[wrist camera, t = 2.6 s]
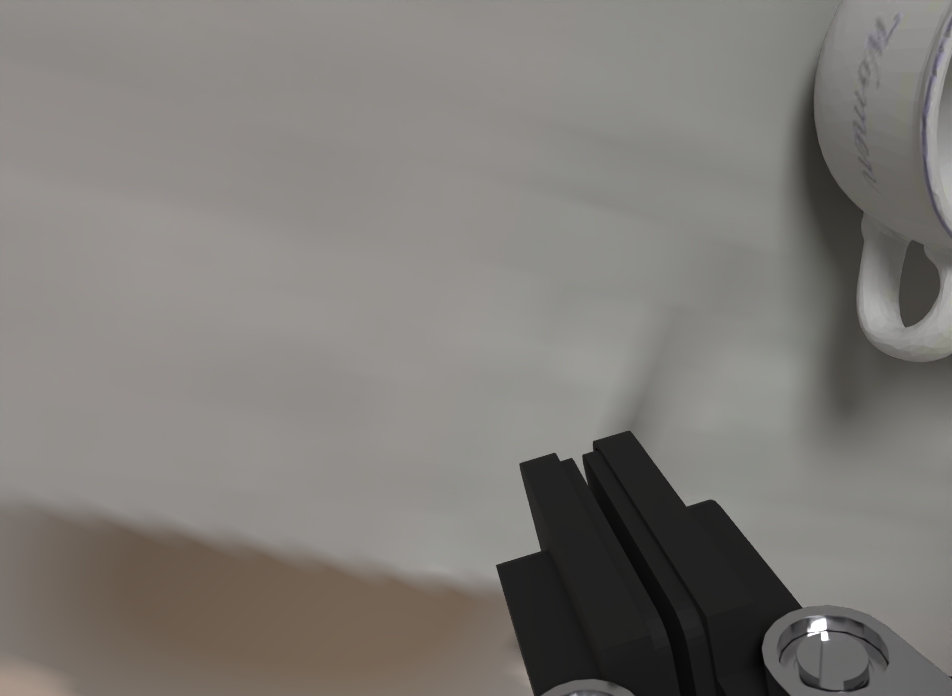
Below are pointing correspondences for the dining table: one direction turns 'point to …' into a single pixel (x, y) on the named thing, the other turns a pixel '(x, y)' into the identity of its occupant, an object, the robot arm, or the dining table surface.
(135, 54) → the dining table surface
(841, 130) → the teacup
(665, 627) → the robot arm
